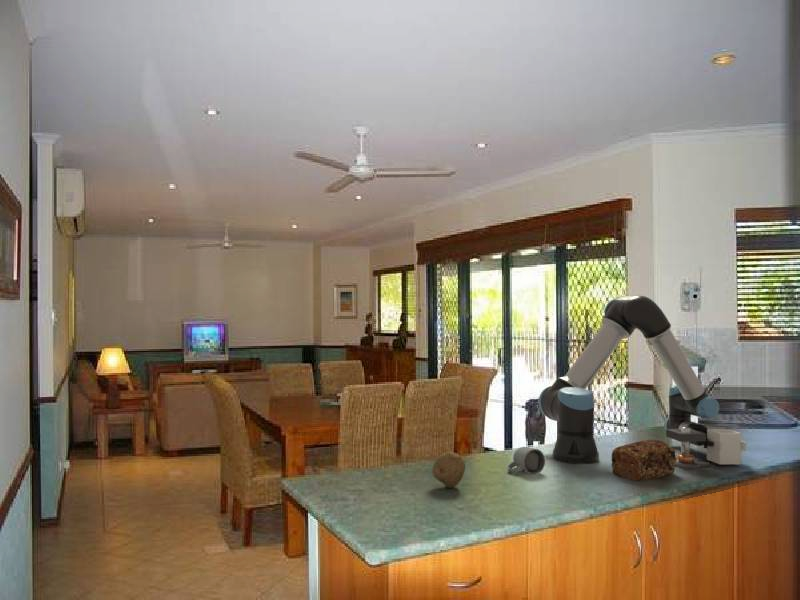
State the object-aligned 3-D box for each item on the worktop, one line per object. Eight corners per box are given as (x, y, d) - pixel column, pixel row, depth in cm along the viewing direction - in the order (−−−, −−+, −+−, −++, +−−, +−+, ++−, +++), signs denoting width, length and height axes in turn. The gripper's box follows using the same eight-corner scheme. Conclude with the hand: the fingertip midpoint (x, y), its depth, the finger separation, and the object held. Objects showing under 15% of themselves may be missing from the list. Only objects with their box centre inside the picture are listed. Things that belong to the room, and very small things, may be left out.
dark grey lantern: (687, 469, 215) (687, 431, 215) (662, 462, 224) (662, 426, 224) (709, 466, 219) (709, 429, 219) (683, 459, 228) (683, 424, 228)
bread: (648, 467, 217) (648, 436, 217) (677, 475, 208) (678, 442, 208) (609, 475, 207) (609, 442, 207) (638, 483, 198) (639, 448, 198)
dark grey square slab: (679, 441, 217) (680, 434, 217) (666, 436, 226) (666, 429, 226) (705, 441, 218) (705, 433, 218) (691, 436, 227) (691, 428, 227)
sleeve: (719, 464, 218) (720, 433, 218) (706, 459, 226) (707, 429, 226) (741, 464, 219) (741, 433, 219) (727, 459, 226) (727, 429, 227)
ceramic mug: (531, 467, 215) (531, 443, 215) (545, 473, 207) (545, 448, 207) (502, 470, 211) (502, 445, 211) (515, 476, 204) (515, 451, 204)
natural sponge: (438, 492, 184) (438, 456, 184) (428, 484, 193) (428, 449, 193) (469, 490, 186) (469, 454, 187) (458, 482, 195) (458, 448, 195)
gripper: (720, 443, 241) (762, 457, 219) (667, 444, 239) (703, 458, 216) (721, 422, 242) (762, 434, 219) (667, 422, 239) (703, 434, 217)
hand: (732, 446), depth 218 cm, fingers closed on sleeve, 7 cm apart
